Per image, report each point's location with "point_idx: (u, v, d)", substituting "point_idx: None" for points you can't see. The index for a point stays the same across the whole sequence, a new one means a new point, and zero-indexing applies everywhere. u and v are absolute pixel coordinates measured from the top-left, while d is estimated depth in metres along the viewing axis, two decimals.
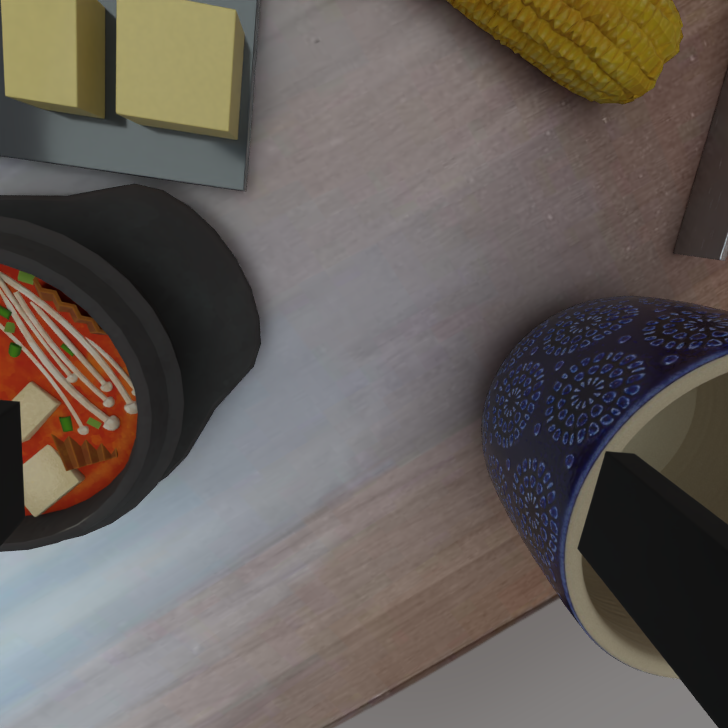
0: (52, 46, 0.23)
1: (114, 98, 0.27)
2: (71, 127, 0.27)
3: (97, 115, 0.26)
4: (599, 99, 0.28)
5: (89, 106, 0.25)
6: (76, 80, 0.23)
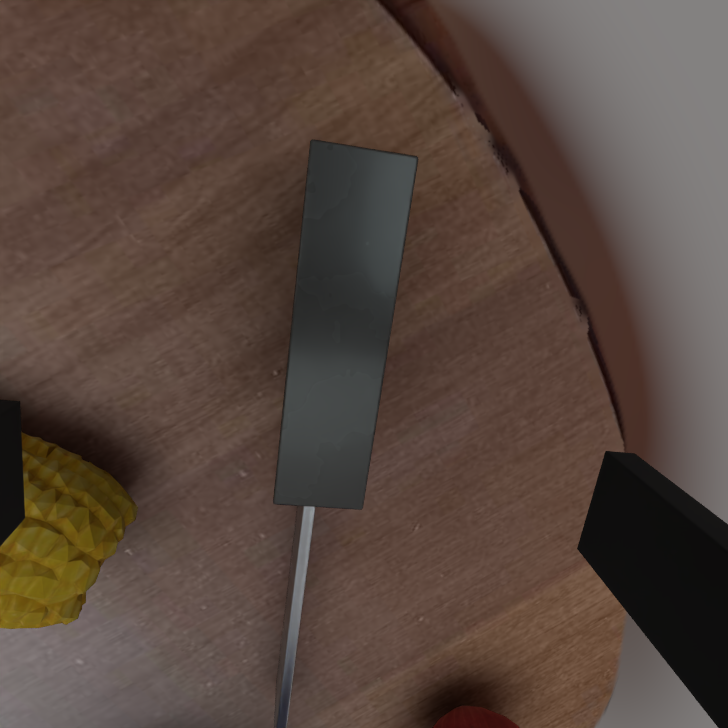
0: None
1: None
2: None
3: None
4: None
5: None
6: None
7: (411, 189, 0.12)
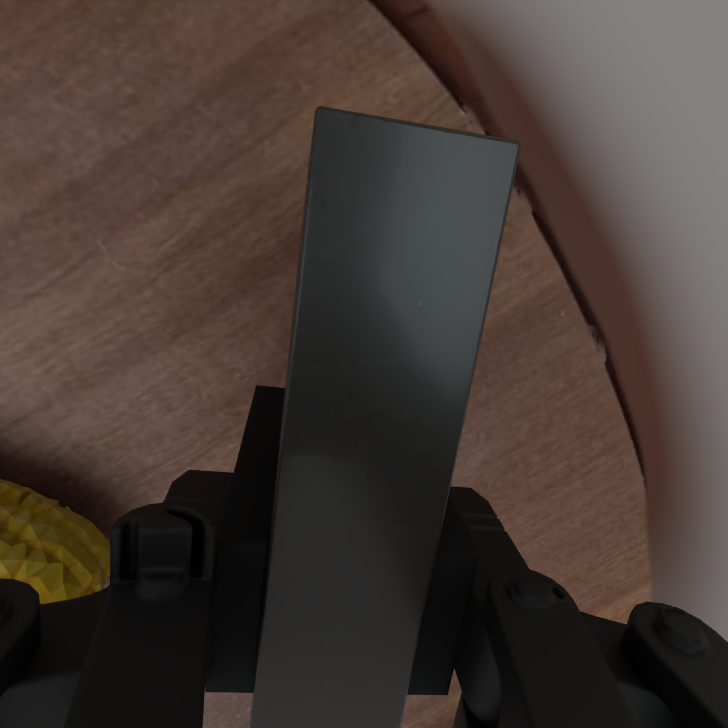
0: None
1: None
2: None
3: None
4: None
5: None
6: None
7: (505, 203, 0.06)
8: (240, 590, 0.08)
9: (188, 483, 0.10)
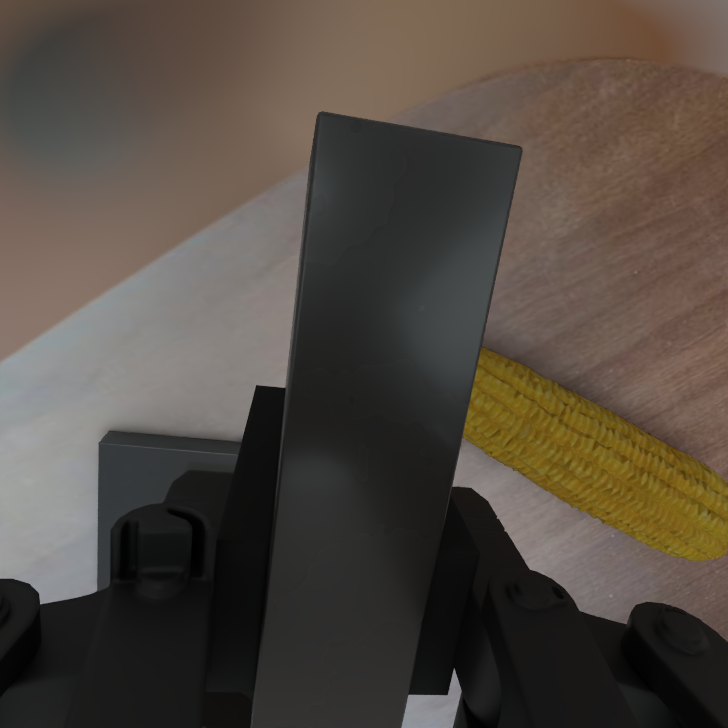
0: None
1: None
2: None
3: None
4: None
5: None
6: None
7: (507, 208, 0.06)
8: (241, 589, 0.08)
9: (188, 484, 0.10)
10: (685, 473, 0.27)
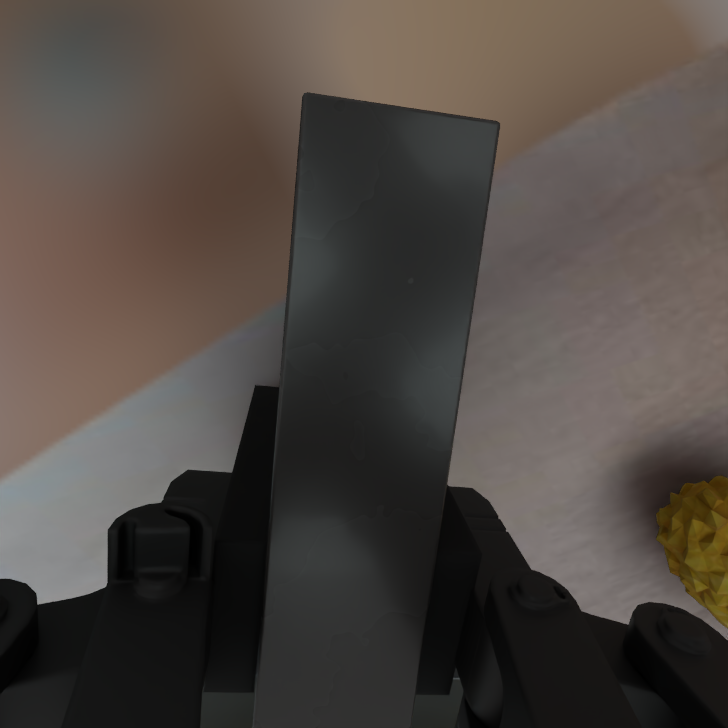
0: None
1: None
2: None
3: None
4: None
5: None
6: None
7: (488, 181, 0.07)
8: (238, 589, 0.08)
9: (187, 483, 0.10)
10: None
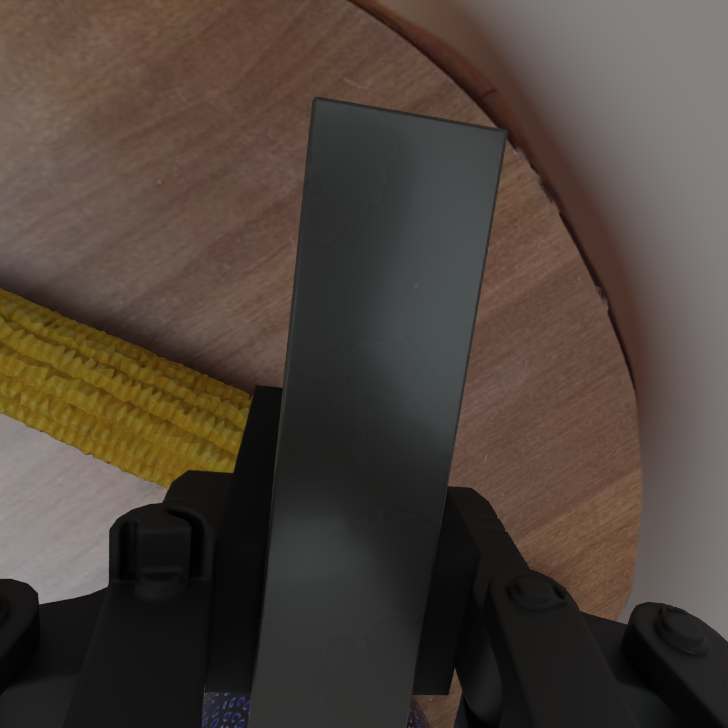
0: None
1: None
2: None
3: None
4: None
5: None
6: None
7: (495, 188, 0.07)
8: (240, 590, 0.08)
9: (188, 483, 0.10)
10: (193, 408, 0.24)
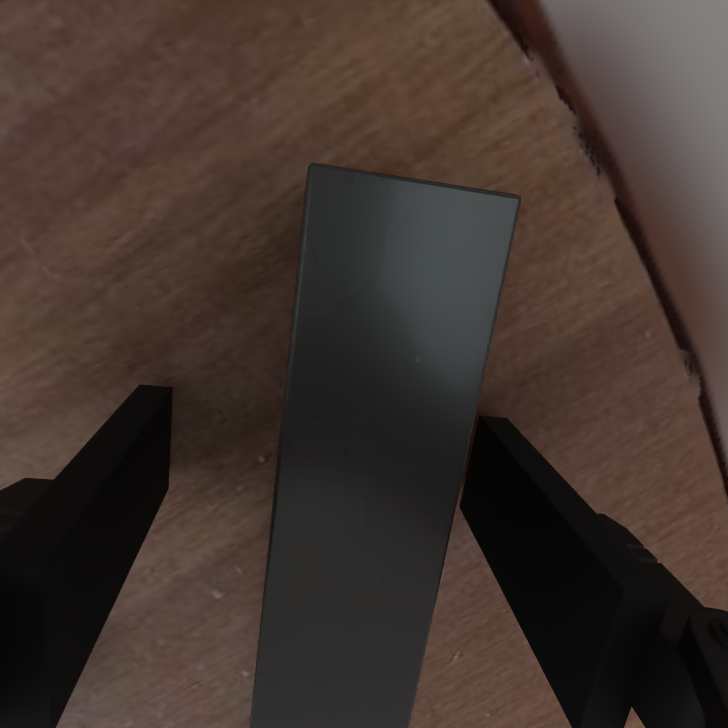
0: None
1: None
2: None
3: None
4: None
5: None
6: None
7: (505, 258, 0.06)
8: (17, 620, 0.07)
9: (15, 494, 0.09)
10: None
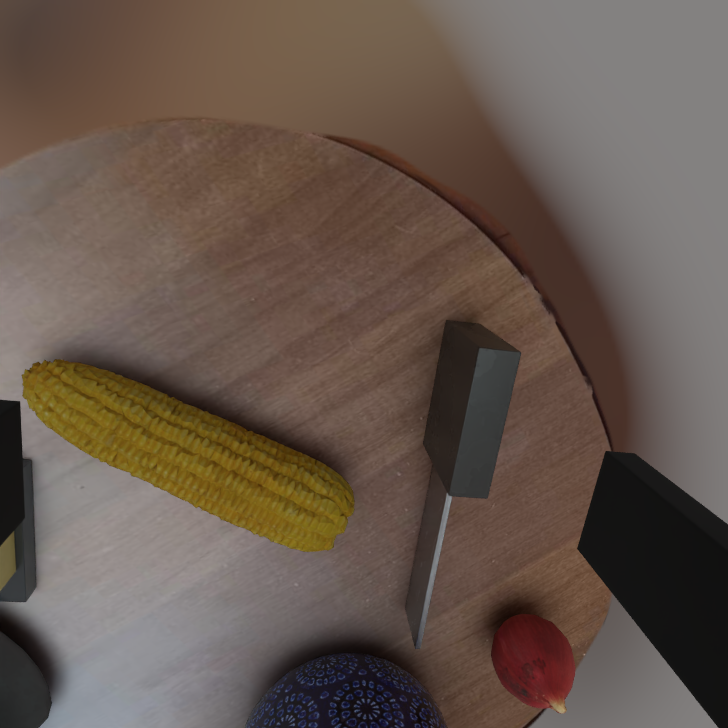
0: None
1: None
2: None
3: None
4: None
5: None
6: None
7: (517, 364, 0.29)
8: None
9: None
10: (278, 475, 0.32)
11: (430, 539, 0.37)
